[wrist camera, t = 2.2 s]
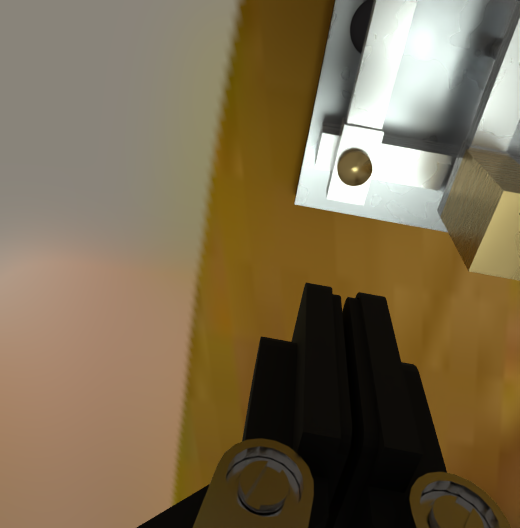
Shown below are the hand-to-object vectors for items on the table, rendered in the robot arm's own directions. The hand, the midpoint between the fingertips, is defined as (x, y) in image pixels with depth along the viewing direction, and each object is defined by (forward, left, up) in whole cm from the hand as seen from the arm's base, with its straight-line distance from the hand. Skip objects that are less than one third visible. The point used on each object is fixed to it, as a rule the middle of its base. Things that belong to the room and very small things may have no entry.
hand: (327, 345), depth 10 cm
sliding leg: (-3, +6, -14) cm, 16 cm away
